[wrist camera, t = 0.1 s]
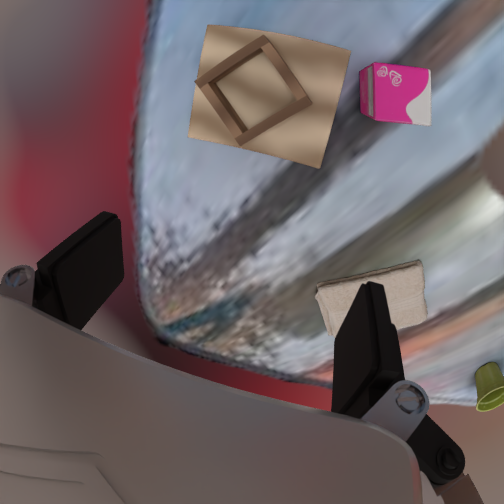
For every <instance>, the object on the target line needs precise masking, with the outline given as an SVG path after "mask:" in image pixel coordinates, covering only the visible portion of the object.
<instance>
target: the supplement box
mask: <svg viewBox="0 0 504 504" xmlns="http://www.w3.org/2000/svg"><path fill="white" fill-rule="evenodd" d="M359 81H360V112H361V113H362V114H364V115H366V116H368V117H370V118H372V119H374V120H376V121H384V122H394V123H404V124H414V125H423V126H431V75H430V70H429V69H425V68H419V67H411V66H404V65H396V64H387V63H376V62H374V63H372V64H371V65H369V66H367V67H366V68H364V69H362V70H361V71H359Z"/></svg>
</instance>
